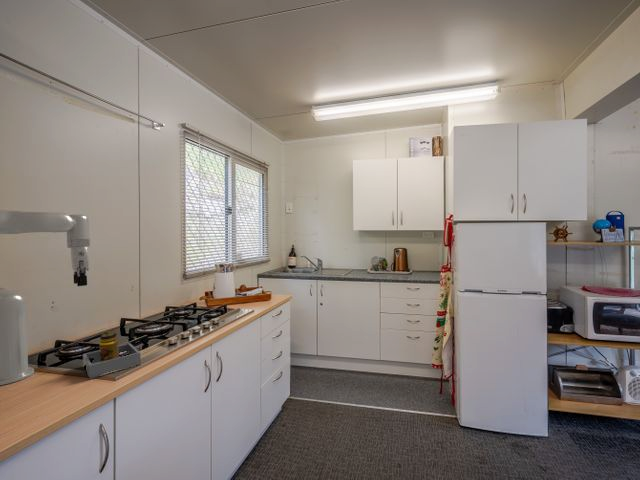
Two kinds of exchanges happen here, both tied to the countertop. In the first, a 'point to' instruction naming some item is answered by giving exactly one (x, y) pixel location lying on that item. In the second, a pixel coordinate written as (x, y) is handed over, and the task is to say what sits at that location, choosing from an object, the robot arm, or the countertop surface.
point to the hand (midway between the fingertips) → (80, 284)
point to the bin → (111, 361)
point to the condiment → (108, 347)
